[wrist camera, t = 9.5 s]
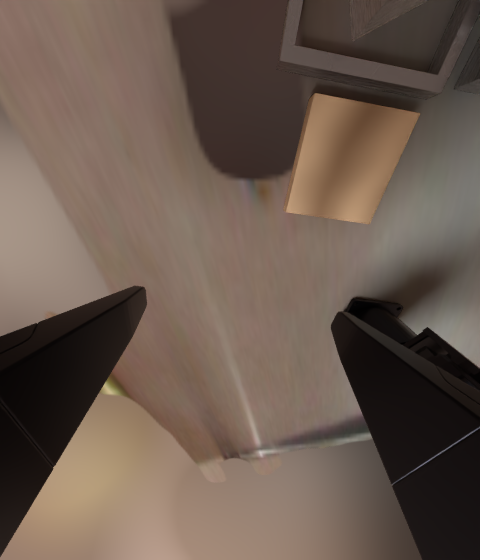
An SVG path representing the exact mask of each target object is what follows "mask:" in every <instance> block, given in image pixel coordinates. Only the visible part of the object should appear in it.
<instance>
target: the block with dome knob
mask: <svg viewBox="0 0 480 560" xmlns="http://www.w3.org/2000/svg"><path fill="white" fill-rule="evenodd" d="M426 1H428V0H349V9H350V21H351V34H352V42H353V41H355V40H356V39H358V38H360V37H362V36H364V35H366V34H367V33H369V32H371V31H373V30H375V29H377V28H378V27H380V26H382V25H384V24H386V23H388V22H390V21H391V20H393V19H395V18H397V17H399V16H401V15H402V14H404V13H406V12H408V11H410V10H412V9H414V8H415V7H417V6H419V5H421V4H423V3H425V2H426Z"/></svg>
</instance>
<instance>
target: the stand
mask: <svg viewBox="0 0 480 560" xmlns="http://www.w3.org/2000/svg"><path fill="white" fill-rule="evenodd" d="M419 115H420V113H417V112H411V111H406V110H401V109H396V108H391V107H385V106H380V105H375V104H370V103H364V102H359V101H354V100H349V99H344V98H338V97H333V96H328V95H323V94H318V93H314V94H313V95H312V97H311V98H310V99H309V102H308V106H307V110H306V115H305V119H304V123H303V128H302V132H301V136H300V140H299V145H298V149H297V153H296V158H295V162H294V166H293V170H292V175H291V179H290V183H289V187H288V192H287V196H286V200H285V205H284V209H283V210H284V211H285V212H289V213H296V214H303V215H310V216H316V217H323V218H330V219H337V220H344V221H351V222H358V223H365V224H370V222H371V220H372V218H373V215H374V213H375V211H376V209H377V207H378V205H379V202H380V200H381V198H382V196H383V194H384V192H385V189H386V187H387V185H388V183H389V181H390V178H391V176H392V174H393V172H394V170H395V168H396V165H397V163H398V161H399V159H400V157H401V154H402V152H403V150H404V148H405V146H406V144H407V141H408V139H409V137H410V135H411V133H412V131H413V128H414V126H415V124H416V122H417V120H418V117H419Z"/></svg>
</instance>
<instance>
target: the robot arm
mask: <svg viewBox="0 0 480 560" xmlns="http://www.w3.org/2000/svg"><path fill="white" fill-rule="evenodd" d="M146 306H147V298H146V290H145V288H144V287H141V286H133V287H130V288H127V289H125V290H122V291H119V292H117V293H114V294H111V295H109V296H106V297H104V298H101V299H98V300H96V301H93V302H90V303H88V304H85V305H82V306H80V307H77V308H75V309H72V310H69V311H67V312H64V313H61V314H59V315H56V316H53V317H51V318H48V319H46V320H43V321H40V322H39V323H38V324H37V323H35V324H32V325H30V326H27V327H24V328H22V329H19V330H16V331H14V332H11V333H8V334H6V335H3V336H0V557H1V555H2V553H3V552H4V550H5V548H6V547H7V545H8V543H9V542H10V540H11V538H12V537H13V535H14V533H15V532H16V530H17V528H18V527H19V525H20V523H21V522H22V520H23V518H24V517H25V515H26V514H27V512H28V510H29V509H30V507H31V505H32V503H33V502H34V500H35V498H36V497H37V495H38V494H39V492H40V490H41V489H42V487H43V485H44V483H45V482H46V480H47V479H48V477H49V475H50V474H51V472H52V470H53V467H54V466H55V465H56V463H57V462H58V460H59V458H60V457H61V455H62V453H63V452H64V450H65V448H66V447H67V445H68V443H69V442H70V440H71V438H72V437H73V435H74V433H75V432H76V430H77V428H78V427H79V425H80V423H81V422H82V420H83V418H84V417H85V415H86V413H87V412H88V410H89V408H90V407H91V405H92V403H93V402H94V400H95V398H96V397H97V395H98V393H99V392H100V390H101V388H102V387H103V385H104V383H105V382H106V380H107V378H108V377H109V375H110V374H111V372H112V370H113V369H114V367H115V365H116V364H117V362H118V360H119V359H120V357H121V355H122V354H123V352H124V350H125V349H126V347H127V345H128V344H129V342H130V340H131V338H132V337H133V335H134V333H135V330H136V328H137V326H138V324H139V322H140V319H141V317H142V315H143V313H144V311H145V308H146ZM402 309H403V306H402V305H400V304H397V303H388V302H380V301H371V300H362V299H353V300H352V301H351V302H350V304H349V306H348V308H347V310H346V312H338V313H337V314H336V316H335V318H334V320H333V322H332V324H331V331H332V334H333V337H334V341H335V344H336V348H337V351H338V354H339V357H340V360H341V363H342V365H343V368H344V370H345V372H346V375H347V377H348V380H349V382H350V385H351V387H352V390H353V392H354V394H355V397H356V399H357V402H358V404H359V407H360V409H361V411H362V414H363V416H364V419H365V421H366V424H367V426H368V428H369V431H370V433H371V436H372V438H373V440H374V443H375V446H376V448H377V450H378V452H379V455H380V458H381V460H382V463H383V465H384V467H385V470H386V472H387V475H388V477H389V480H390V482H391V484H392V487H393V490H394V492H395V495H396V497H397V499H398V502H399V504H400V507H401V509H402V512H403V514H404V516H405V519H406V521H407V524H408V526H409V529H410V531H411V533H412V536H413V538H414V541H415V543H416V546H417V548H418V550H419V553H420V555H421V558H422V560H480V368H479V367H478V366H476V365H475V364H474V363H473V362H471V361H470V360H469V359H468V358H466V357H465V356H464V355H463V354H461V353H460V352H459V351H457V350H456V349H455V348H454V347H452V346H451V345H450V344H449V343H447V342H446V341H445V340H443V339H442V338H441V337H440V336H438V335H437V334H436V333H434V332H433V331H432V330H431V329H429V328H428V327H427V328H426V329H424V330H423V332H422V333H420V334H418V335H417V334H415V333H414V332H413V331H412V330H411V329H410V328H409V327H408V326H406V325H405V324H404V323H403V322H402V321H401V320H400V319H399V318H397V317H398V315H399V314H400V312H401V311H402Z"/></svg>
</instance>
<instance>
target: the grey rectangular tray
mask: <svg viewBox="0 0 480 560" xmlns="http://www.w3.org/2000/svg"><path fill="white" fill-rule="evenodd" d="M302 4H303V0H288V2H287V9H286V14H285V21H284V27H283V33H282V40H281V46H280V52H279V58H278V64H277V70H281V71H285V72H291V73H296V74H301V75H306V76H311V77H316V78H321V79H326V80H331V81H336V82H341V83H346V84H351V85H356V86H361V87H366V88H371V89H376V90H381V91H386V92H391V93H396V94H402V95H407V96H412V97H417V98H422V99H428V98H431V97H433V96H435V95H438V94H440V93H441V92H442V90H443V88H444V86H445V84H446V82H447V80H448V78H449V76H450V74H451V72H452V70H453V67H454V65H455V63H456V61H457V59H458V57H459V55H460V53H461V51H462V49H463V47H464V45H465V43H466V40H467V38H468V36H469V34H470V32H471V30H472V28H473V26H474V24H475V22H476V20H477V18H478V15H479V13H480V0H459V1H458V3H457V6H456V8H455V10H454V13H453V15H452V17H451V19H450V22H449V24H448V26H447V29H446V31H445V33H444V35H443V38H442V40H441V42H440V45H439V47H438V49H437V51H436V54H435V56H434V58H433V61H432V63H431V65H430V67H429V70H428V72H427V73H425V72H421V71H416V70H411V69H406V68H401V67H397V66H392V65H387V64H382V63H378V62H373V61H368V60H363V59H358V58H354V57H349V56H344V55H339V54H334V53H330V52H325V51H320V50H315V49H311V48H306V47H301V46H296V45H295V42H296V37H297V31H298V26H299V20H300V15H301V10H302ZM454 89H455V90H460V91H465V92H470V93H474V94H480V38H479V40H478V42H477V44H476V46H475V48H474V50H473V52H472V54H471V56H470V58H469V60H468V62H467V64H466V66H465V68H464V70H463V72H462V74H461V76H460V78H459V80H458V82H457V84H456V86H455V88H454Z"/></svg>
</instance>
